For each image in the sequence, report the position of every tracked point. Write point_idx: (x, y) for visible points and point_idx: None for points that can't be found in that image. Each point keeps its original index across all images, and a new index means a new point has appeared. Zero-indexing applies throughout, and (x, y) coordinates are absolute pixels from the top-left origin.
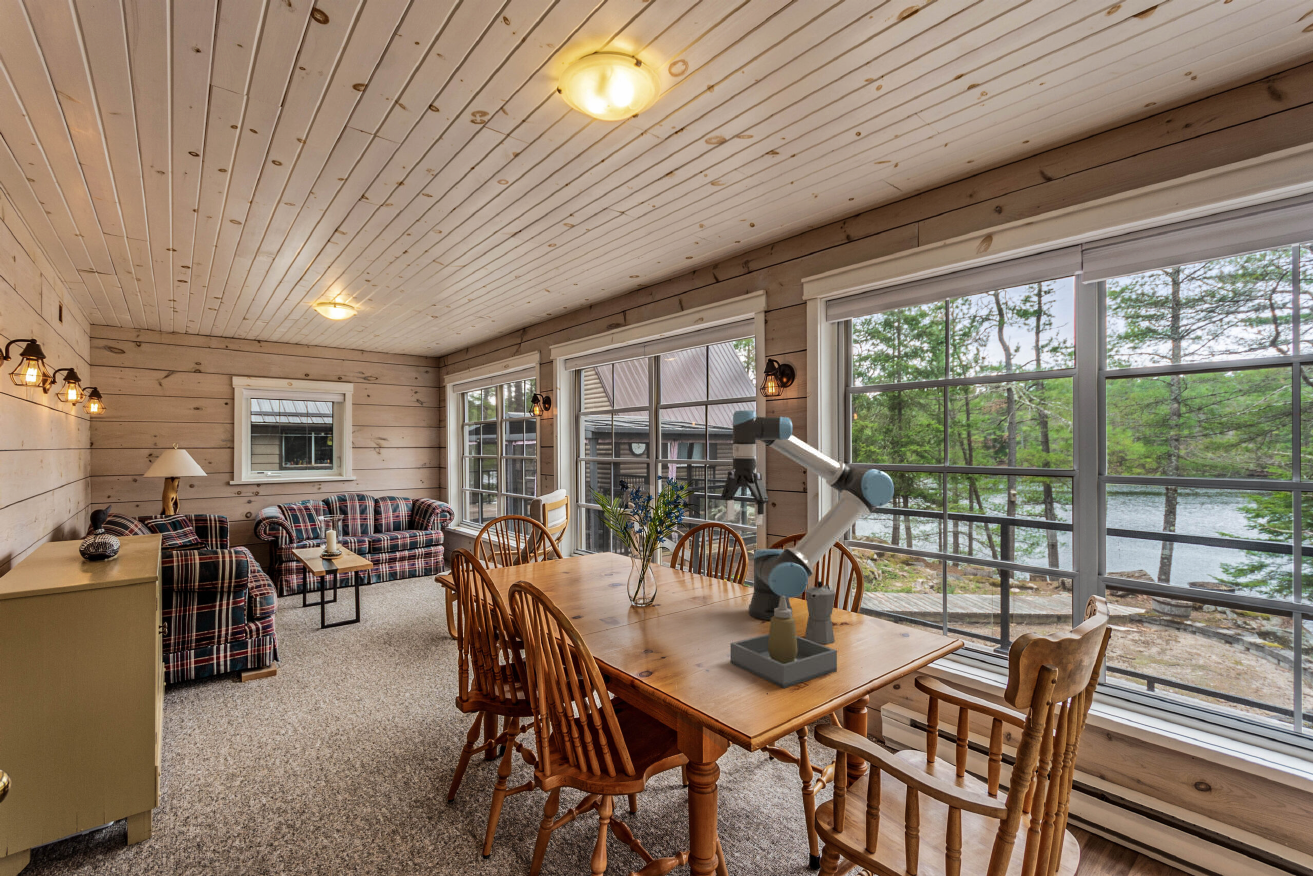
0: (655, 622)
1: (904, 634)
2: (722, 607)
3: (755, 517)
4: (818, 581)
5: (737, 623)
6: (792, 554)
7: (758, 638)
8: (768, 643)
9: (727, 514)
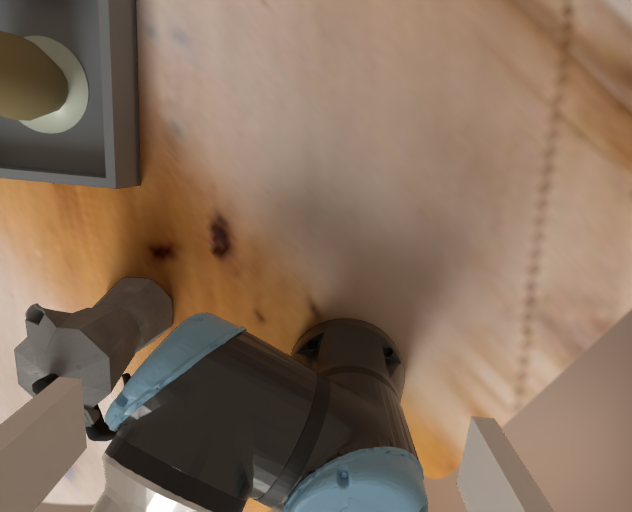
0: (520, 63)
1: None
2: (477, 324)
3: (13, 426)
4: (43, 388)
5: (349, 250)
6: (133, 461)
7: (102, 82)
8: (21, 39)
9: (506, 460)
